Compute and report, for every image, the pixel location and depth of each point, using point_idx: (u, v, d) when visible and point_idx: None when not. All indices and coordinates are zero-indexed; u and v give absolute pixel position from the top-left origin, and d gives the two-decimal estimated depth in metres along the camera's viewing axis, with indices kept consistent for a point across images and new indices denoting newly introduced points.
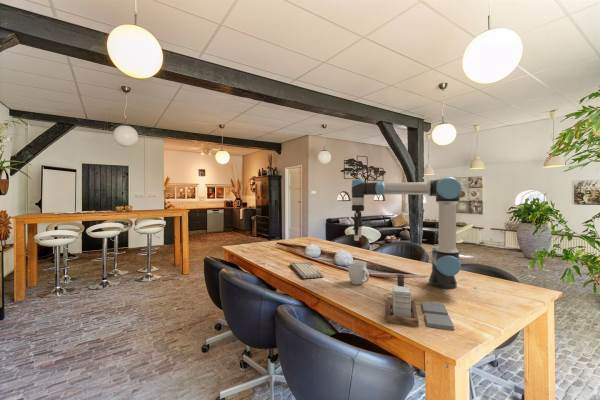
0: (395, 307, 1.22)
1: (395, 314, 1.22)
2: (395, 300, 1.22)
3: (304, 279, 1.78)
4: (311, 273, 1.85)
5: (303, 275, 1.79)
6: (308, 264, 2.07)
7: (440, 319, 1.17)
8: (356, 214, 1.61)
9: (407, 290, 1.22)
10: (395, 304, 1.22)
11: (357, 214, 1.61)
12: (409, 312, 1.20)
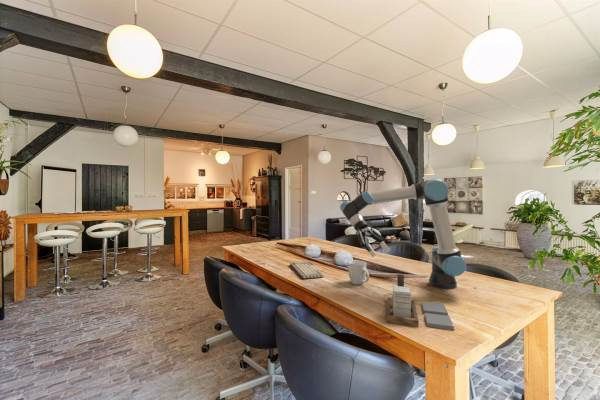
0: (395, 307, 1.22)
1: (395, 314, 1.22)
2: (395, 300, 1.22)
3: (304, 279, 1.78)
4: (311, 273, 1.85)
5: (303, 275, 1.79)
6: (308, 264, 2.07)
7: (440, 319, 1.17)
8: (357, 232, 1.49)
9: (407, 290, 1.22)
10: (395, 304, 1.22)
11: (357, 231, 1.49)
12: (409, 312, 1.20)
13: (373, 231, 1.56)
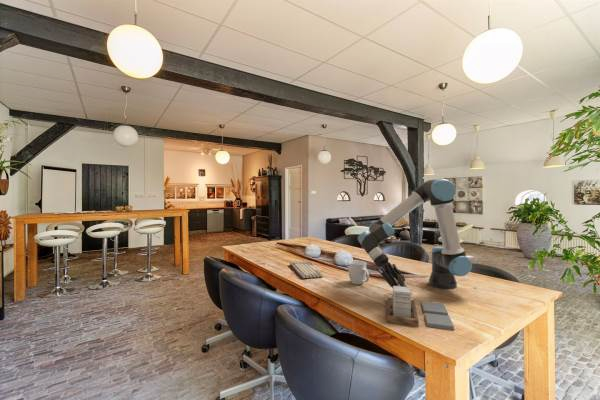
0: (395, 307, 1.22)
1: (395, 314, 1.22)
2: (395, 300, 1.22)
3: (303, 279, 1.78)
4: (310, 273, 1.85)
5: (302, 275, 1.79)
6: (308, 264, 2.07)
7: (440, 319, 1.17)
8: (380, 271, 1.39)
9: (407, 290, 1.22)
10: (395, 304, 1.22)
11: (381, 270, 1.39)
12: (409, 312, 1.20)
13: (394, 267, 1.45)
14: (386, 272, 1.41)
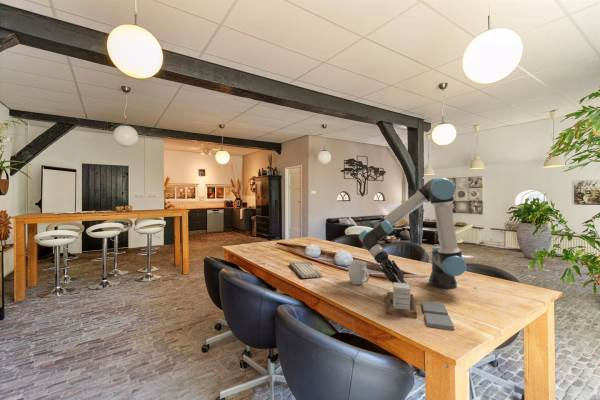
0: (395, 303, 1.27)
1: None
2: (395, 295, 1.27)
3: (303, 279, 1.78)
4: (310, 273, 1.85)
5: (302, 275, 1.80)
6: (307, 264, 2.07)
7: (440, 319, 1.17)
8: (380, 267, 1.47)
9: (407, 286, 1.27)
10: (395, 300, 1.27)
11: (381, 266, 1.46)
12: (408, 307, 1.25)
13: (394, 263, 1.53)
14: (386, 268, 1.49)
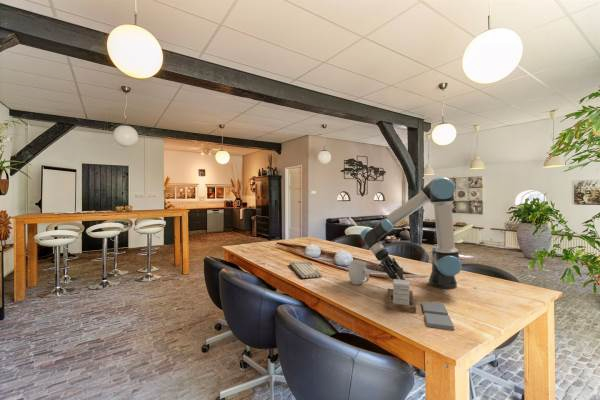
0: (395, 298, 1.32)
1: None
2: (395, 291, 1.32)
3: (303, 279, 1.78)
4: (310, 273, 1.85)
5: (302, 275, 1.80)
6: (307, 264, 2.07)
7: (440, 319, 1.17)
8: (381, 264, 1.52)
9: (406, 283, 1.32)
10: (395, 295, 1.32)
11: (382, 263, 1.52)
12: (408, 303, 1.30)
13: (394, 261, 1.58)
14: (386, 265, 1.54)
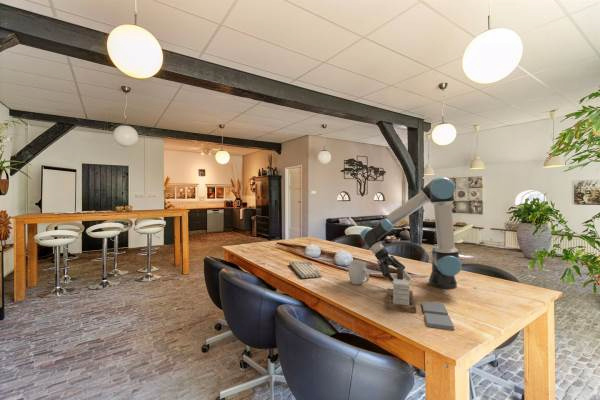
0: (395, 298, 1.32)
1: None
2: (395, 291, 1.32)
3: (302, 278, 1.79)
4: (310, 273, 1.86)
5: (301, 275, 1.80)
6: (307, 264, 2.07)
7: (440, 319, 1.17)
8: (379, 261, 1.53)
9: (406, 283, 1.32)
10: (395, 295, 1.32)
11: (379, 260, 1.52)
12: (408, 303, 1.30)
13: (394, 259, 1.60)
14: (384, 264, 1.54)
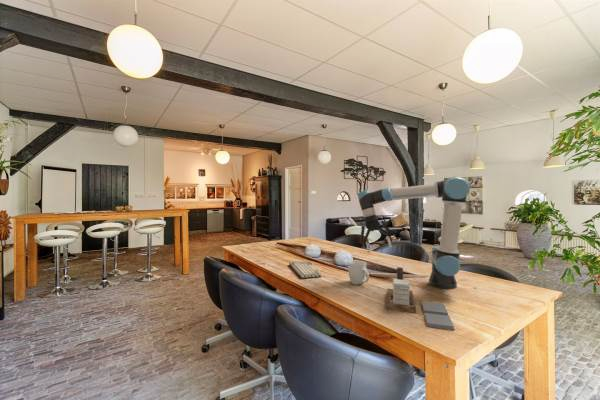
0: (395, 298, 1.32)
1: None
2: (395, 291, 1.32)
3: (302, 278, 1.79)
4: (309, 273, 1.86)
5: (301, 274, 1.80)
6: (307, 264, 2.08)
7: (440, 319, 1.17)
8: (361, 227, 1.64)
9: (406, 283, 1.32)
10: (395, 295, 1.32)
11: (361, 227, 1.63)
12: (408, 303, 1.30)
13: (383, 225, 1.64)
14: (368, 230, 1.64)
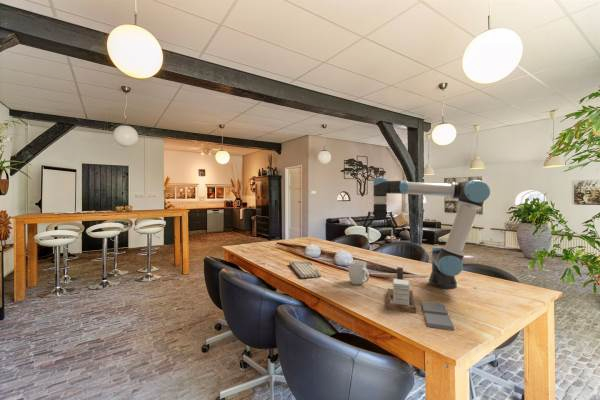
0: (395, 298, 1.32)
1: None
2: (395, 291, 1.32)
3: (302, 278, 1.79)
4: (309, 273, 1.86)
5: (301, 274, 1.80)
6: (307, 264, 2.08)
7: (440, 319, 1.17)
8: (368, 212, 1.64)
9: (406, 283, 1.32)
10: (395, 295, 1.32)
11: (368, 212, 1.64)
12: (408, 303, 1.30)
13: None
14: (374, 217, 1.64)
